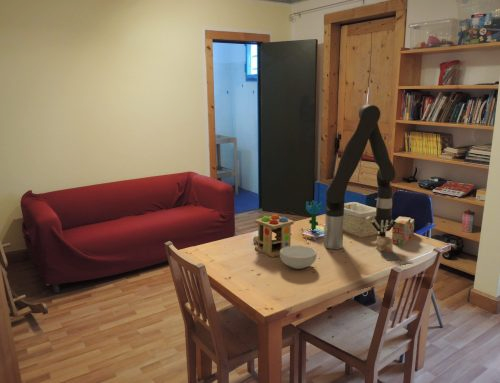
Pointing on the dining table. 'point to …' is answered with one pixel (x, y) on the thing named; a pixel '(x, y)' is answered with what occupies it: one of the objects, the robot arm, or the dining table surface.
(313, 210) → the toy flower
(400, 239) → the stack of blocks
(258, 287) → the dining table surface
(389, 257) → the mat
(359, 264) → the dining table surface
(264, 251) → the pounding bench toy
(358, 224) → the storage basket
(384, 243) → the cube
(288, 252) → the cereal bowl
